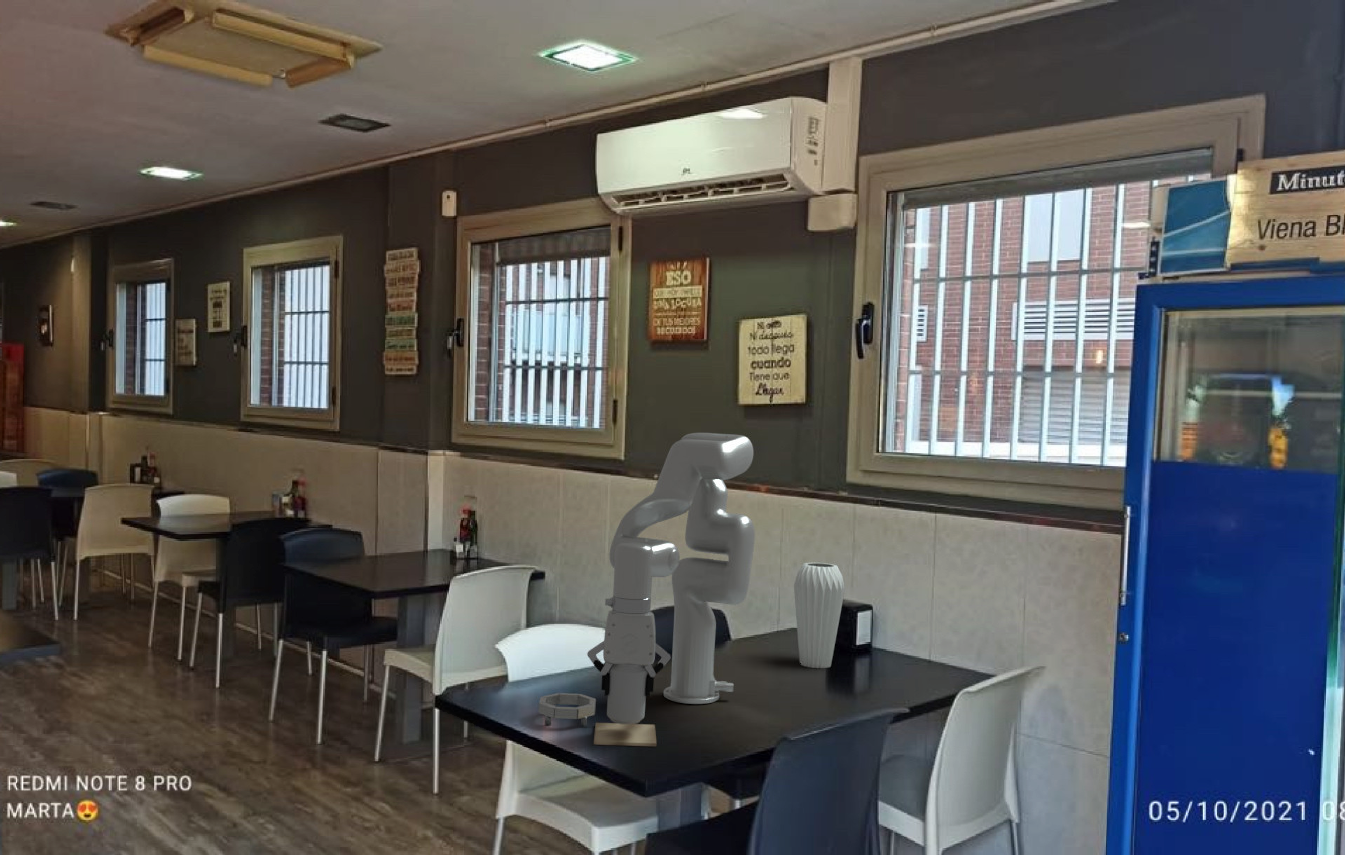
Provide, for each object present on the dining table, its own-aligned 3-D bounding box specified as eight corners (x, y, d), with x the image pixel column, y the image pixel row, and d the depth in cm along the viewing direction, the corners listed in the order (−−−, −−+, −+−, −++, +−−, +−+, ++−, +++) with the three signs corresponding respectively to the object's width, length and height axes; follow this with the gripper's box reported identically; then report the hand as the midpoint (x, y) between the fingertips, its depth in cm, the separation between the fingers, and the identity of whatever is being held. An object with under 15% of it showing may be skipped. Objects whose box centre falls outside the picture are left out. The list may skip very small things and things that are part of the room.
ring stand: (595, 713, 222) (596, 694, 222) (593, 729, 210) (594, 709, 210) (541, 711, 221) (542, 692, 221) (536, 727, 210) (537, 707, 210)
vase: (805, 656, 285) (810, 559, 284) (849, 665, 277) (854, 565, 277) (780, 664, 274) (785, 564, 274) (826, 673, 266) (831, 570, 266)
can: (602, 723, 204) (605, 662, 204) (611, 712, 212) (615, 653, 211) (639, 727, 203) (643, 666, 203) (647, 716, 210) (651, 657, 210)
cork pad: (654, 727, 213) (654, 724, 213) (656, 746, 201) (656, 743, 201) (595, 725, 213) (595, 722, 213) (593, 744, 201) (593, 741, 201)
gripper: (586, 607, 203) (582, 698, 203) (676, 611, 204) (671, 701, 204) (588, 600, 210) (583, 688, 210) (674, 604, 211) (670, 691, 211)
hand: (627, 694), depth 207 cm, fingers closed on can, 7 cm apart
